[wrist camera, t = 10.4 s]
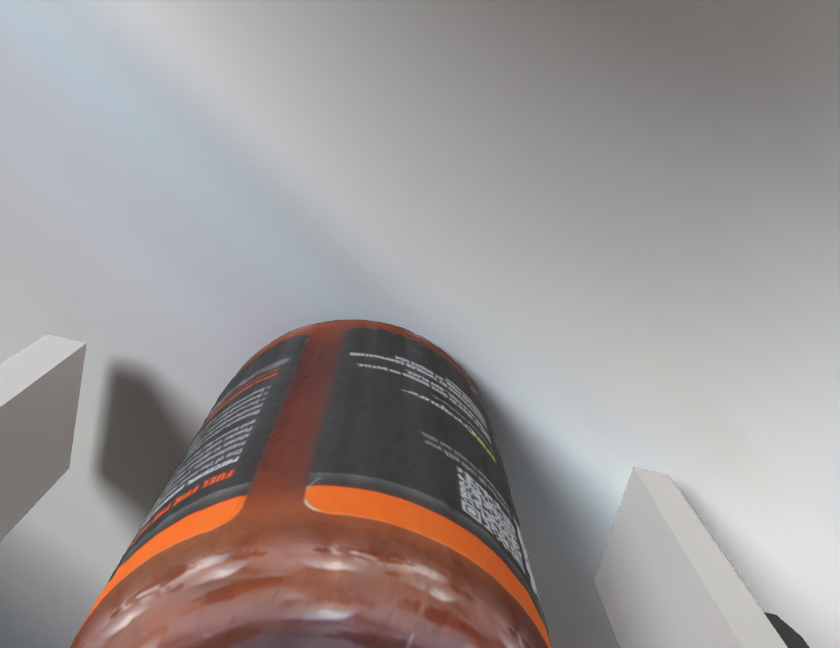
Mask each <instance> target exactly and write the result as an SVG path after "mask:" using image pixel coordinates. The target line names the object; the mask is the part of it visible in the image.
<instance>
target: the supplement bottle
mask: <svg viewBox="0 0 840 648" xmlns="http://www.w3.org/2000/svg"><path fill="white" fill-rule="evenodd" d="M70 648H551V645H550V640H549V635H548V630H547V625H546V621H545V618H544V614H543V611H542V607H541V604H540V600H539V596H538V592H537V589H536V585H535V581H534V578H533V574H532V570H531V567H530V563H529V559H528V555H527V551H526V548H525V544H524V541H523V537H522V533H521V529H520V524H519V520H518V517H517V515H516V511H515V507H514V504H513V501H512V496H511V493H510V488H509V485H508V481H507V477H506V474H505V470H504V466H503V463H502V460H501V456H500V451H499V448H498V445H497V440H496V435H495V432H494V429H493V426H492V424H491V421H490V418H489V416H488V412H487V408H486V406H485V404H484V402H483V400H482V399H481V397H480V395H479V393H478V391H477V390H476V388H475V386H474V384H473V383H472V381H471V380H470V379H469V377H468V376H467V375H466V373H465V372H464V371H463V370H462V369H461V368H460V367H459V366H458V365H457V363H456V362H455V361H454V360H452V359H451V358H450V356H449V355H448V354H446V353H445V352H444V351H442V350H441V349H439V348H438V347H436V346H435V345H434V344H432V343H431V342H430V341H428V340H426V339H425V338H423V337H421V336H419V335H416V334H414V333H413V332H411V331H409V330H406V329H404V328H401V327H397V326H394V325H391V324H386V323H382V322H375V321H368V320H334V321H328V322H323V323H316V324H312V325H308V326H304V327H301V328H299V329H296V330H294V331H291V332H289V333H287V334H285V335H283V336H281V337H279V338H278V339H276V340H274V341H273V342H271V343H270V344H269V345H267V346H266V347H264V348H263V349H261V350H260V351H259V352H257V353H256V354H255V355H254V356H253V357H252V358H251V359H250V360H249V361H247V362H246V363H245V364H244V365H243V367H242V368H241V369H240V370H239V372H238V373H237V374H236V376H235V377H234V378H233V379H232V380H231V381H230V383H229V384H228V385H227V387H226V388H225V390H224V391H223V392H222V394H221V395H220V396H219V398H218V400H217V402H216V404H215V405H214V406H213V408H212V410H211V411H210V413H209V415H208V417H207V418H206V419H205V421H204V424H203V426H202V427H201V429H200V430H199V432H198V433H197V435H196V436H195V438H194V440H193V441H192V443H191V445H190V446H189V448H188V450H187V451H186V453H185V455H184V457H183V458H182V460H181V461H180V463H179V464H178V466H177V468H176V470H175V471H174V473H173V474H172V476H171V478H170V479H169V481H168V483H167V485H166V486H165V488H164V490H163V491H162V493H161V495H160V496H159V498H158V500H157V501H156V503H155V505H154V506H153V508H152V510H151V511H150V513H149V514H148V516H147V517H146V519H145V521H144V522H143V524H142V526H141V527H140V529H139V531H138V533H137V535H136V536H135V538H134V539H133V541H132V542H131V544H130V546H129V548H128V549H127V551H126V553H125V554H124V556H123V557H122V559H121V561H120V563H119V565H118V566H117V568H116V569H115V571H114V572H113V574H112V576H111V578H110V580H109V582H108V584H107V586H106V587H105V588H104V590H103V591H102V593H101V594H100V596H99V597H98V599H97V601H96V603H95V604H94V606H93V608H92V609H91V611H90V613H89V615H88V616H87V618H86V620H85V621H84V623H83V625H82V626H81V628H80V630H79V631H78V633H77V635H76V637H75V639H74V641H73V643H72V645H71V647H70Z"/></svg>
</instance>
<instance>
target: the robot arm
mask: <svg viewBox="0 0 840 648" xmlns="http://www.w3.org/2000/svg"><path fill="white" fill-rule="evenodd" d="M85 350H86V343H84V342H79V341H75V340H71V339H66V338H62V337H57V336H53V335H48V334H47V335H45V336H43V337H42V338H40V339H39V340H37V341H36V342H34V343H32V344H31V345H29V346H28V347H26V348H25V349H23V350H22V351H20V352H18V353H17V354H15V355H14V356H12V357H11V358H9V359H7V360H6V361H4V362H3V363H1V364H0V541H1V540H2V539H3V538H4V537H5V536H6V535H7V534H8V533H9V532H10V531H11V530H12V529H13V528H14V526H15V525H16V524H17V523H18V522H19V521H20V520H21V519H22V518H23V517H24V516H25V515H26V514H27V513H28V511H29V510H30V509H31V508H32V507H33V506H34V505H35V504H36V503H37V502H38V501H39V500H40V499H41V498H42V496H43V495H44V494H45V493H46V492H47V491H48V490H49V489H50V488H51V487H52V486H53V485H54V484H55V483H56V482H57V480H58V479H59V478H60V477H61V476H62V475H63V474H64V473H65V472H66V471H67V470H68V469H69V465H70V457H71V450H72V443H73V436H74V429H75V422H76V414H77V407H78V400H79V393H80V386H81V379H82V372H83V364H84V357H85ZM594 582H595V585H596V588H597V590H598V593H599V596H600V598H601V601H602V603H603V606H604V609H605V611H606V614H607V617H608V619H609V622H610V624H611V627H612V630H613V632H614V635H615V638H616V640H617V643H618V646H619V648H809V646H808V645H807V644H806V642H805V641H804V639H803V638H802V637H801V636H800V635H799V634H798V633H796V632H795V631H794V630H793V629H792V628H791V627H789V626H788V625H787V624H786V623H785V622H784V621H783V620H781V619H780V618H779V617H778V616H777V615H774V614H770V613H765V612H763V611H762V609H761V608H760V607H759V605H758V604H757V602H756V601H755V599H754V598H753V596H752V595H751V594H750V592H749V591H748V589H747V588H746V586H745V585H744V583H743V582H742V580H741V579H740V578H739V576H738V575H737V573H736V572H735V570H734V569H733V567H732V566H731V565H730V563H729V562H728V560H727V559H726V557H725V556H724V554H723V553H722V551H721V550H720V549H719V547H718V546H717V544H716V543H715V541H714V540H713V538H712V537H711V535H710V534H709V533H708V531H707V530H706V528H705V527H704V525H703V524H702V522H701V521H700V520H699V518H698V517H697V515H696V514H695V512H694V511H693V509H692V508H691V506H690V505H689V504H688V502H687V501H686V499H685V498H684V496H683V495H682V493H681V492H680V491H679V489H678V488H677V486H676V485H675V483H674V482H673V480H672V479H671V477H670V476H669V475H667V474H662V473H658V472H654V471H649V470H645V469H640V468H636V467H633V470H632V473H631V476H630V479H629V481H628V484H627V487H626V490H625V493H624V496H623V499H622V501H621V504H620V507H619V510H618V513H617V516H616V519H615V521H614V524H613V527H612V530H611V533H610V536H609V538H608V541H607V544H606V547H605V550H604V553H603V556H602V558H601V561H600V564H599V567H598V570H597V573H596V576H595V578H594Z"/></svg>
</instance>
